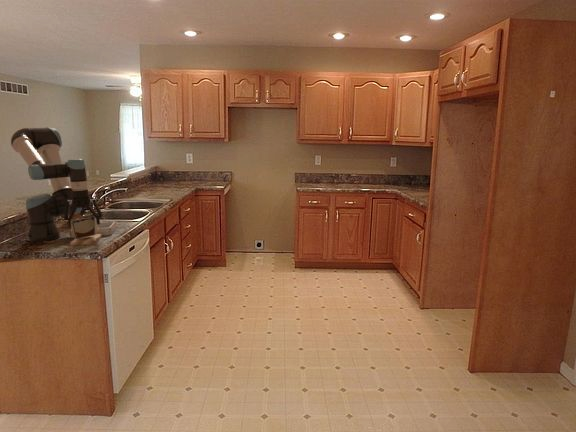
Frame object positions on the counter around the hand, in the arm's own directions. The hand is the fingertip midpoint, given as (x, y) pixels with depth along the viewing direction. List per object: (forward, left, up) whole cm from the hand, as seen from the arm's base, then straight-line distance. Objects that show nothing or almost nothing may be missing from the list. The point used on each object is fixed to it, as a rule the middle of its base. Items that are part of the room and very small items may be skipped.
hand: (85, 231), depth 209 cm
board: (0, 0, -5) cm, 5 cm away
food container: (-1, 0, -3) cm, 3 cm away
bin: (0, +17, -5) cm, 18 cm away
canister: (-18, +54, -5) cm, 58 cm away
